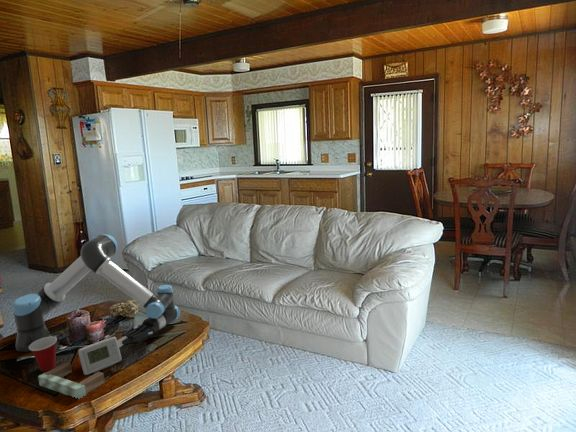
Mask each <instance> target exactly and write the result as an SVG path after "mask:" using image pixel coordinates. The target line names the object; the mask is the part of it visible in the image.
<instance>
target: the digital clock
mask: <svg viewBox="0 0 576 432" xmlns="http://www.w3.org/2000/svg"><path fill="white" fill-rule="evenodd" d="M117 340H118V339H117V337H116V336H112V337H109V338H106V339H102V340H99V341H97V342H94V343H92V344H91V343H90V344H89V345H87V346H85V347H81V348H79V349H78V350H77V354H78V357H79V358H78V359H79V361H80V365H81V368H82V371H83V375H85V376H88V375H91V374H95V373H97V372H101V371H102V370H104V369H107V368H110V367H112V366H114V365H115V364H117V363H120V362H122V360H123V357H122V354H121V351H120V347H119V346H118V342H117Z"/></svg>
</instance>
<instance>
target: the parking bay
mask: <svg viewBox="0 0 576 432" xmlns="http://www.w3.org/2000/svg"><path fill="white" fill-rule="evenodd" d="M72 372H73V370H72V364H71V362H68V361H64V362H63V363H61V364H60V365H57V366H55V367H54V368H53V369H51V370H48V371H45V372H43V373H42V374H39V375H38V376H37V380H38V384H39V386H40V387H42V388H45V389H49V390H52V391H55V392H57V393H59V394H63V395H66V396H69V395H70V396H69V397H71V396H72V398H74V397H75V398H74V399H77V398H78V399H77V400H81V399H82V398H84V397H85V396H87V394H89V393H90V392H92V391H94V390H96V389H97V388H98V387H100V386H102V385H103V384H104V383H106V381H105V373H104V372H101V371H97V372H95V373H92V375H90V376H88V377H87V378H85V379H84V380H82V381H80V382H79V383H78V382H76V381H74V380H73V381H72V380H69V379H68V378H67V379H66V378H65V377H66V376H68V375H70V374H71V373H72ZM69 373H70V374H69ZM83 396H84V397H83ZM80 398H81V399H80Z"/></svg>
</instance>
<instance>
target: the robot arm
mask: <svg viewBox="0 0 576 432" xmlns="http://www.w3.org/2000/svg"><path fill="white" fill-rule="evenodd" d="M118 248H119V247H118V242H117V240H116V239H115V237H114V236H112V235H111V234H107V233H103V234H99V235H97V236H96V237H94V238H92V239H91V240H88V241H86V242H85V243H84V244H83V245H82V247H81V249H80V256H79V257H77V259H75V260H74V261H73V262H72V263H71V264H70V265H69V266H68V267H67V268H66V269H65V270H64V271H63V272H61V274H60V275H58V276H57V277H56V278H55V279H54V280H53V281H52V282H46V284H44V285H43V286H42V287H41V288H40V289H39V290H38V291H37V292H36V293H29V294H24V295H23V296H20V297H18V298H17V299H15V300H14V301H13V303H12V312H13V316H14V317H13V318H14V321H15V322H14V323H15V326H16V332H17V333H16V338H15V350H16V351H18V352H22V353H24V352H32V351H31V350H30V349H29V345H30V344H31V343H33V342H35V341H36V340H39V339H41V338H45V337H51V336H52V334H51V332H50V331H49V329H48V328H47V326H46V323H45V316H47V315H48V314H49V313H51V312H52V311H53V310H55V309H56V308H58V307H59V306H60V305H61V304H62V302H63V301H64V300H65V299H66V294H67V293H69V292H70V290H71V289H72V288H74V287H75V286H77V284H78V283H79V282H80V281H81V280H82V279H83V278H85V277H86V276H87V275H88V274H89V273H90V272H91V271H92V272H93V273H94V274H95V275H96V274H97V275H101V276H102V277H104V278H105V279H106V280H107V281H109V282H110V283H111V284H112V285H114V286H115V287H116V288H117V289H119V290H120V291H122V292H123V293H124V294H125V295H127V296H128V297H130V298H131V300H135V301H136V302H135V303H137V304H139V306H141V307H142V308H144V309H145V313H146V316H147V318H145V319H144V320H143V322H142V324H139V325H137V326H135V325H131V327H130V328H128V329H127V330H126V331H125V332H124V333H122V334H121V336H122V337H121V338H119V339H117V342H118V346H119V348H121V347H122V346H124V345H126V344H127V343H131V342H132V343H135V342H138V341H140V340H142V339H145V338H147V337H150V336H152V335H153V336H154V333H156V332H157V331H159V330H162V329H163V328H165V327H166V326H169V324H171V323H174V322H175V321H176V320H177V319H179V318H180V315H181V311H180V308H179V307H178V306H177V305H176V304H175V300H174V299H175V298H174V291H173V287H172V285H171V284H163V285H159V286H158V287H157V288H156V294H155V293H153V292H151V290H150V289H148V288H147V287H146V286H144V285H143V284H142V283H140V282H139V281H137V280H136V279H135V278H134V277H132V276H131V275H130V274H129V273H127V272H126V271H124V270H123V269H122V268H121V267H120V266H118V265H117V264H116V263H115V262H113V261H112V256H114V255H115V254H116V253H117V252H118Z"/></svg>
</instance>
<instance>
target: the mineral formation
mask: <svg viewBox="0 0 576 432" xmlns="http://www.w3.org/2000/svg"><path fill="white" fill-rule="evenodd" d="M136 303H137V302H136V301H135V300H133V299H131V300H130V299H129V300H127V301H126V302H125V303H124V302H119V303H116V304H113V305H112V306H111V307H109V310H110V313H111V314H112V316H113V317H117V316H119V315H120V316H121V317H123V318H125V317H127V318H134V317H135V315H136V314H138V313H139V306H140V304H139V303H137V304H136Z"/></svg>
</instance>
